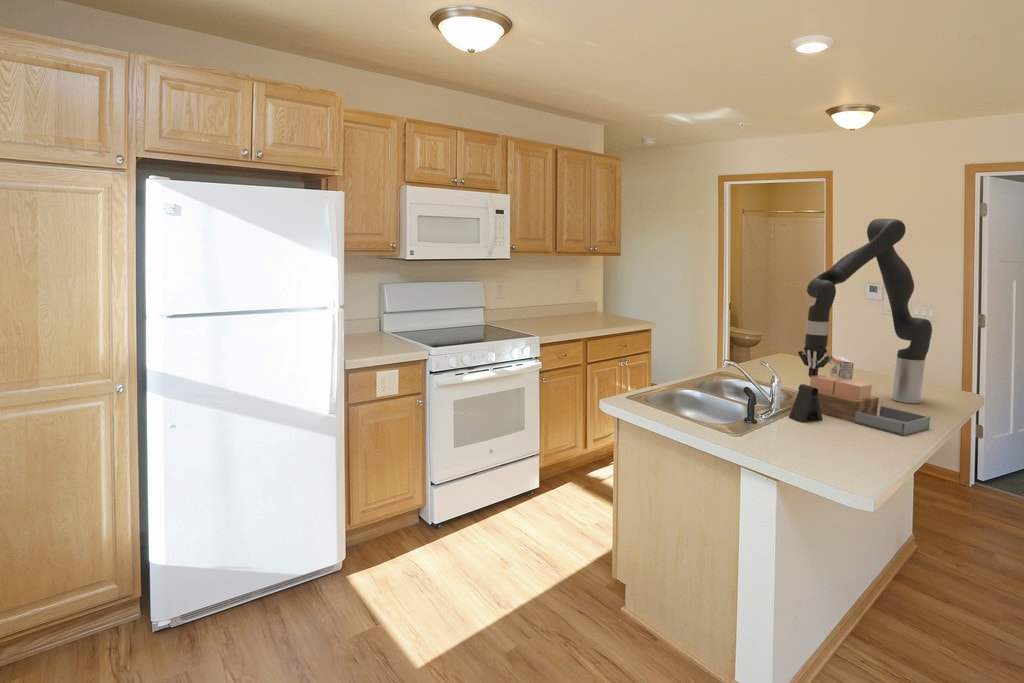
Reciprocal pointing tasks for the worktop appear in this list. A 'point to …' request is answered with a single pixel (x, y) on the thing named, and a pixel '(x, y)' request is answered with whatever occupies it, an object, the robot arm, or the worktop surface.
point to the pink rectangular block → (824, 383)
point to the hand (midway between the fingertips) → (812, 377)
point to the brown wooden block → (846, 406)
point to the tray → (894, 421)
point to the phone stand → (806, 405)
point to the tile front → (852, 389)
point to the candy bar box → (841, 368)
